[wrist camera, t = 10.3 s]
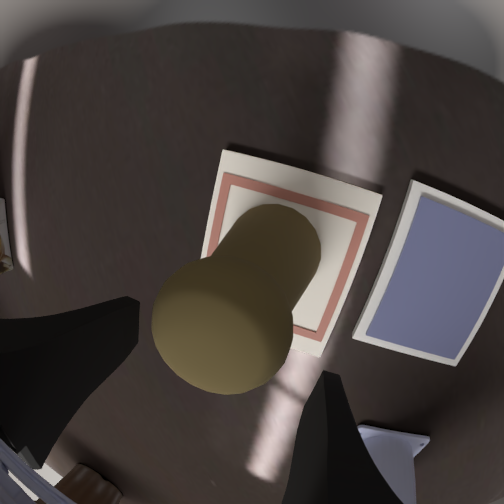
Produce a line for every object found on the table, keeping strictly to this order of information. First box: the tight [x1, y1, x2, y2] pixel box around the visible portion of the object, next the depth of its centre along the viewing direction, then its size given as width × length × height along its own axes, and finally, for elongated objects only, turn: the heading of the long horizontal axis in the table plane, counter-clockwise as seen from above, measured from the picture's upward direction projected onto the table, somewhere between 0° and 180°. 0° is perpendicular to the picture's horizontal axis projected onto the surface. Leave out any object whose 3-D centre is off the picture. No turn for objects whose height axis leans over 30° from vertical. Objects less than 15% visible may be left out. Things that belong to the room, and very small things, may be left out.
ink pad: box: [352, 179, 504, 366], centre depth 17 cm, size 11×9×1 cm
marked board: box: [201, 150, 383, 358], centre depth 20 cm, size 12×10×1 cm
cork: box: [152, 204, 321, 395], centre depth 14 cm, size 6×6×11 cm
